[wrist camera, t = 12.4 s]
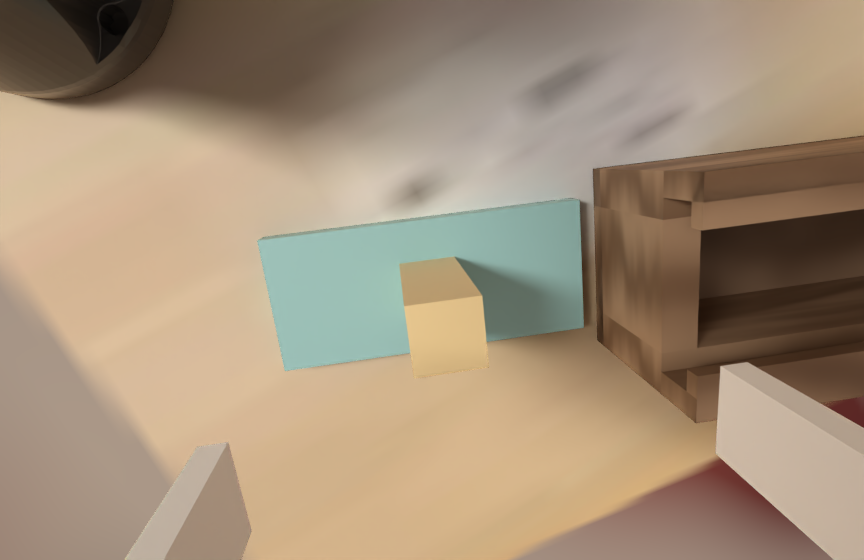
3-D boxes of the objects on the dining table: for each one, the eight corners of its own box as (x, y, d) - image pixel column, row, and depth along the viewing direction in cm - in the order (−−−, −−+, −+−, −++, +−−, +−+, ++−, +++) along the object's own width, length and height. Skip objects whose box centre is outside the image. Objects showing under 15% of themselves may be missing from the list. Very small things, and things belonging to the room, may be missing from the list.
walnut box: (593, 168, 30) (704, 171, 20) (920, 128, 32) (1189, 111, 21) (597, 340, 33) (696, 423, 23) (895, 296, 35) (1120, 355, 24)
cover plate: (264, 236, 30) (198, 275, 19) (568, 197, 31) (660, 214, 21) (290, 359, 32) (243, 454, 21) (573, 319, 33) (659, 390, 23)
